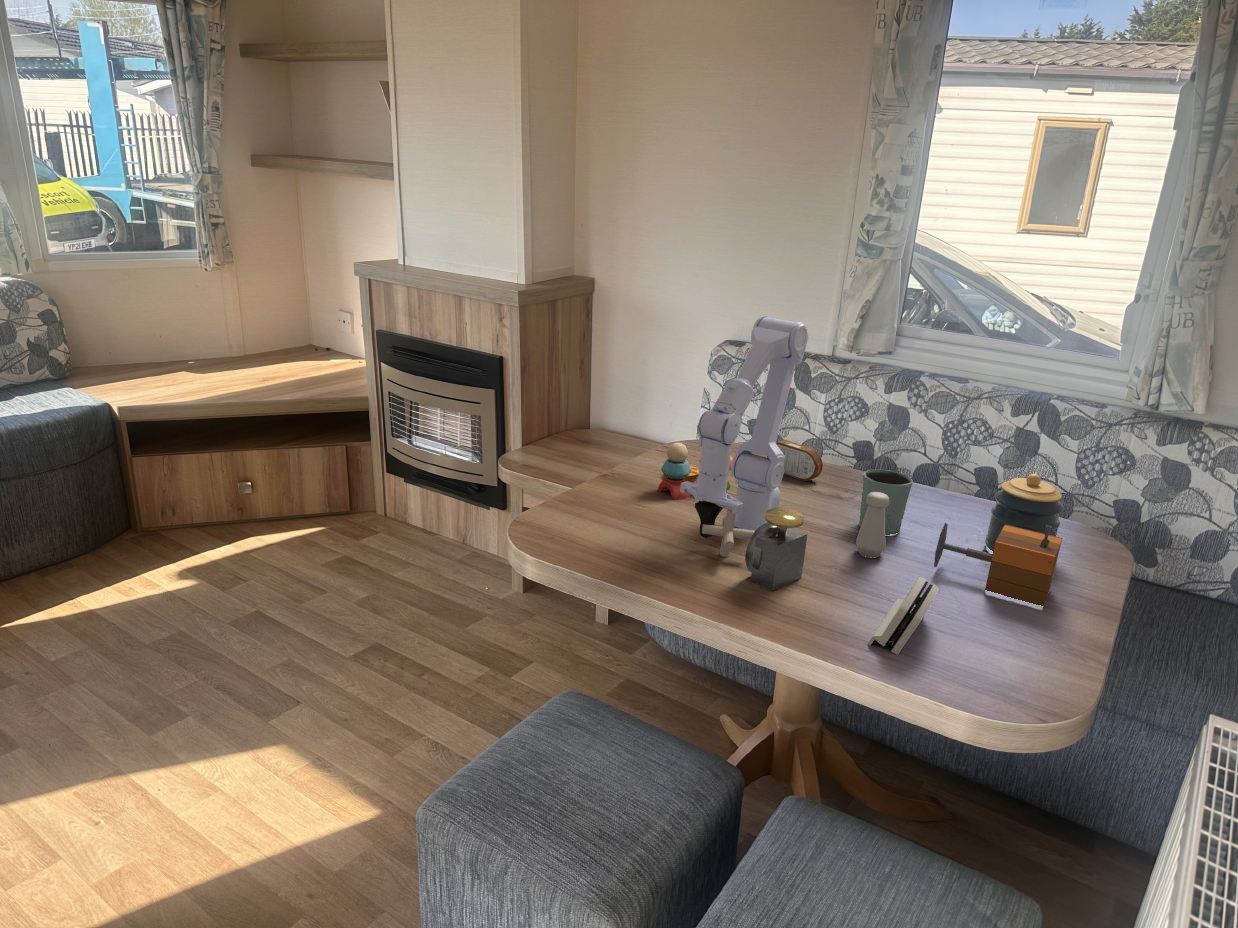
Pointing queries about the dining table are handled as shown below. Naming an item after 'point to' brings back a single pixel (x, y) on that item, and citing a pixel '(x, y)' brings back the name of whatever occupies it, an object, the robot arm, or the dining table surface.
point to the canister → (1025, 507)
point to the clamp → (1015, 562)
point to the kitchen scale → (777, 549)
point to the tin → (800, 460)
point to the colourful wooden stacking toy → (679, 471)
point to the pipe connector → (727, 533)
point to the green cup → (894, 488)
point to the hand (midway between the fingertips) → (706, 536)
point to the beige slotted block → (905, 616)
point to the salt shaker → (873, 526)
